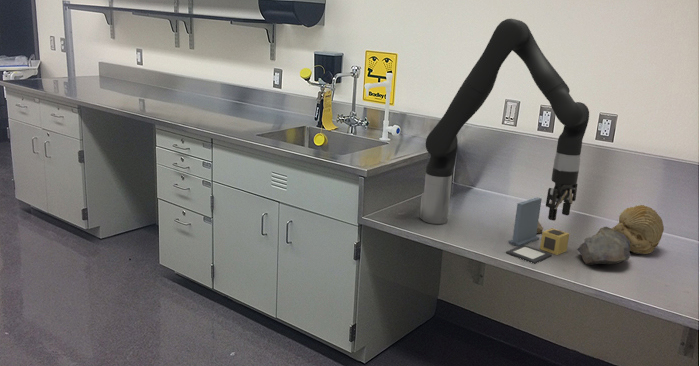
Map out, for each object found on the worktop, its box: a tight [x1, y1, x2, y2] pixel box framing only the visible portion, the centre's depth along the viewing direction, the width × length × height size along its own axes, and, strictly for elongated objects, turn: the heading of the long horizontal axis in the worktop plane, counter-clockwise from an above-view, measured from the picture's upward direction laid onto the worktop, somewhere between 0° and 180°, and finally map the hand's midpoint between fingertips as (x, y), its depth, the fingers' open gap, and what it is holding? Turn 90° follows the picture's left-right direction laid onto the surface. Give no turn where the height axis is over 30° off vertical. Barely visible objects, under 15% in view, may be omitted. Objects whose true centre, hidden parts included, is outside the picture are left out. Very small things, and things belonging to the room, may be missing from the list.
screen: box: [508, 196, 542, 247], centre depth 191 cm, size 4×12×14 cm, turn 132°
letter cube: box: [539, 227, 570, 256], centre depth 186 cm, size 6×6×6 cm
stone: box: [576, 226, 632, 266], centre depth 178 cm, size 18×10×15 cm
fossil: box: [611, 204, 665, 255], centre depth 190 cm, size 15×17×15 cm
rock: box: [537, 220, 545, 235], centre depth 205 cm, size 8×11×4 cm
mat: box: [505, 244, 553, 264], centre depth 181 cm, size 10×10×1 cm
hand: (558, 217), depth 184 cm, fingers open, 8 cm apart
